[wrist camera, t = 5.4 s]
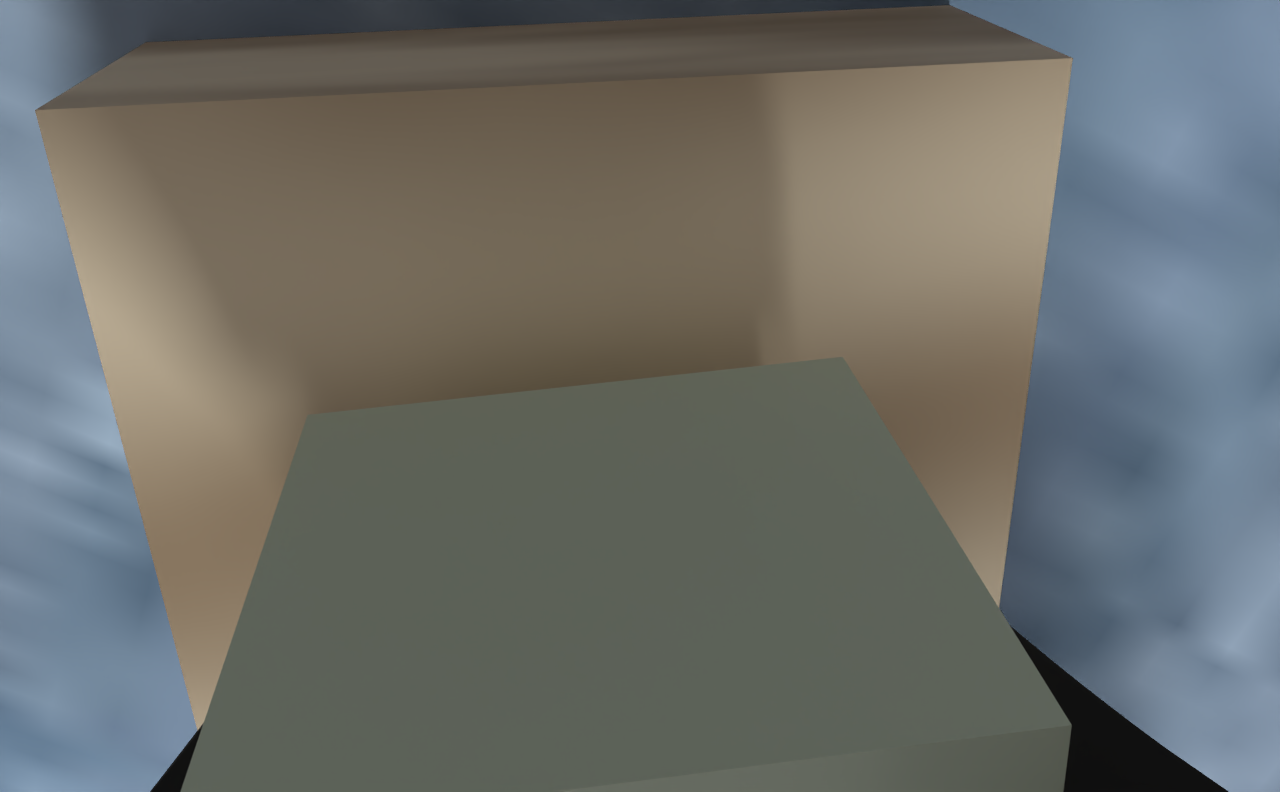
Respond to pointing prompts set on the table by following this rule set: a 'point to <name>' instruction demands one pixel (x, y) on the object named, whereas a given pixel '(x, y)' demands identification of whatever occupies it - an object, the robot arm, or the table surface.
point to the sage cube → (622, 605)
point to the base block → (551, 242)
